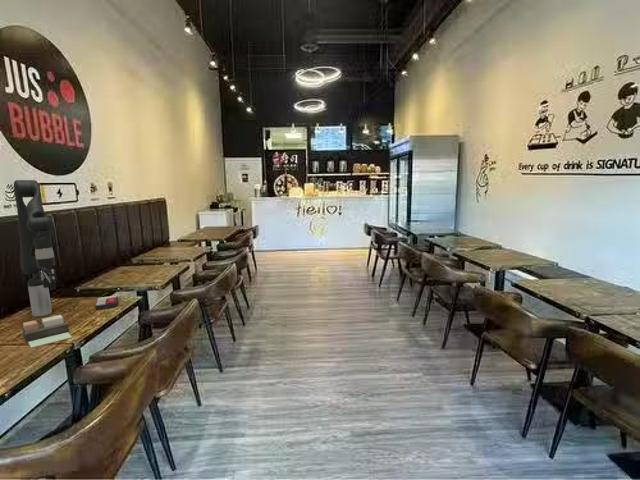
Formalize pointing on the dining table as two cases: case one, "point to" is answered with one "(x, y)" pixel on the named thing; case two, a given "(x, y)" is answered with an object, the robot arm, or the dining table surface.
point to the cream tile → (52, 321)
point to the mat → (49, 340)
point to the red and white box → (106, 302)
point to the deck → (45, 331)
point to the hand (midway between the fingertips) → (49, 288)
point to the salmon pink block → (30, 326)
